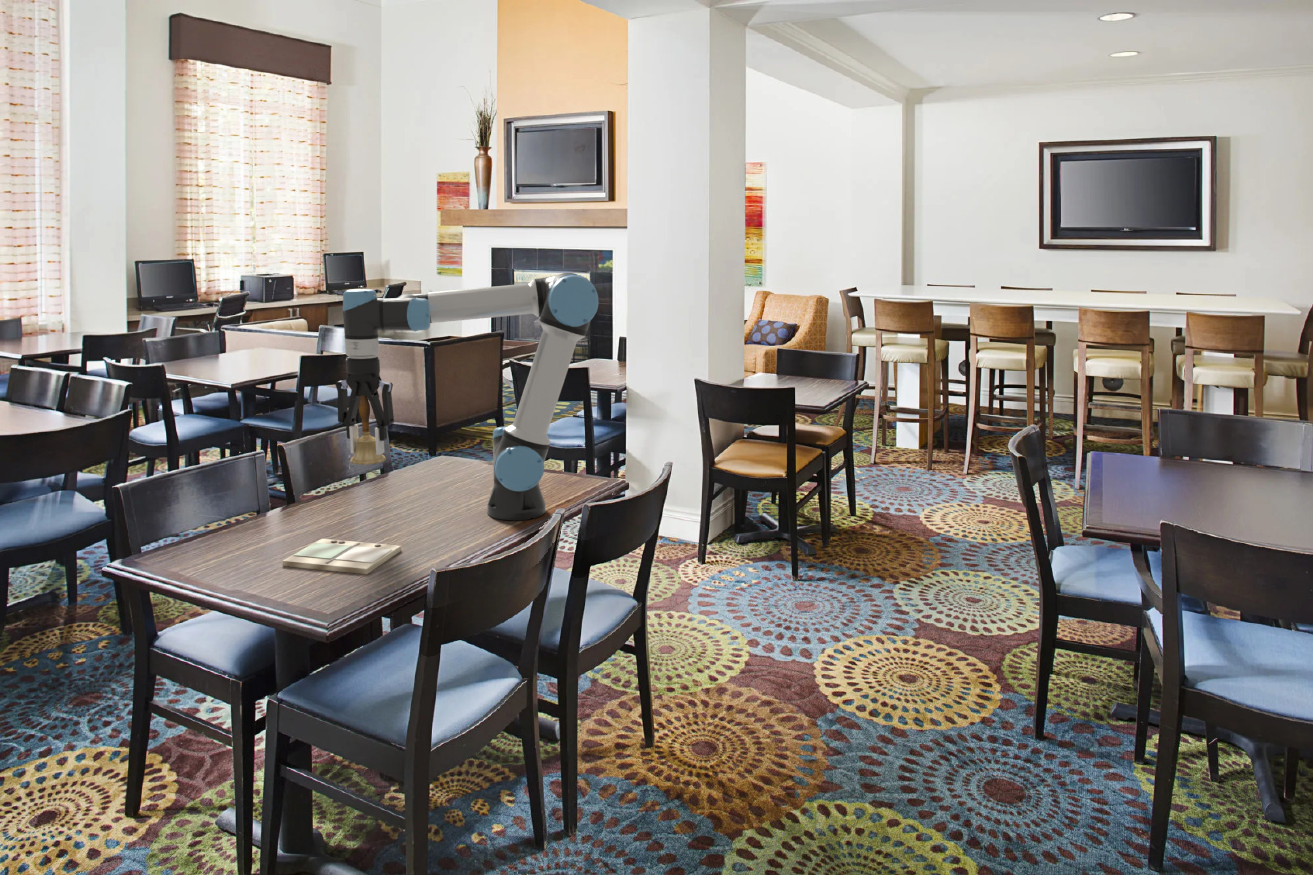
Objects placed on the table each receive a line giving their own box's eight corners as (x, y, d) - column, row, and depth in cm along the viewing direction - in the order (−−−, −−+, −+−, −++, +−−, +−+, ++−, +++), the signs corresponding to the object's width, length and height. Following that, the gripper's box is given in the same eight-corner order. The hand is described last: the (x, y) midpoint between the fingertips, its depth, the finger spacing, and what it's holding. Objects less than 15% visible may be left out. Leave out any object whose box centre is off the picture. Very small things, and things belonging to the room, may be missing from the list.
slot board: (401, 550, 221) (400, 544, 221) (367, 574, 206) (366, 567, 205) (322, 543, 225) (321, 537, 225) (282, 565, 210) (282, 559, 209)
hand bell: (352, 466, 224) (348, 398, 221) (348, 458, 231) (344, 393, 228) (388, 463, 227) (385, 396, 224) (383, 455, 235) (380, 391, 231)
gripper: (317, 356, 222) (323, 454, 227) (392, 359, 219) (396, 458, 224) (334, 352, 230) (339, 447, 234) (407, 355, 226) (411, 451, 231)
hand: (367, 452), depth 229 cm, fingers closed on hand bell, 6 cm apart
